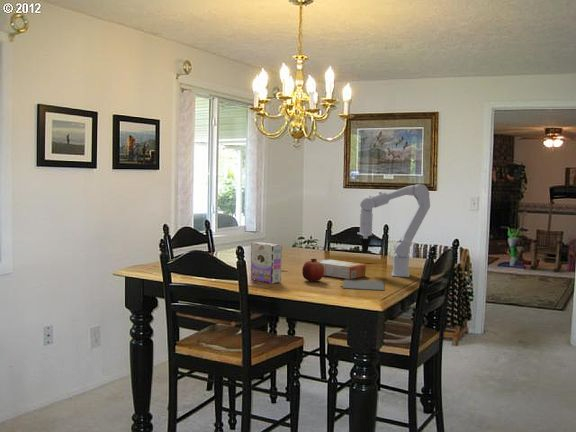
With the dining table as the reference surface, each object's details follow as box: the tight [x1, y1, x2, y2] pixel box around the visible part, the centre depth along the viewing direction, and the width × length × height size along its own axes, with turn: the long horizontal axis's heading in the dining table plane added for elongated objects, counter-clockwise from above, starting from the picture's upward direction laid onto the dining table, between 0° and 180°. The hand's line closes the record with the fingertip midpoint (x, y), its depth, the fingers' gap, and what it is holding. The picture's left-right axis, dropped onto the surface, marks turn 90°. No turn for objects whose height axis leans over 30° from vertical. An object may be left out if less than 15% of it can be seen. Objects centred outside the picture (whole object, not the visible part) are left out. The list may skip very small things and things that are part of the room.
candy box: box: [250, 241, 283, 285], centre depth 263 cm, size 14×6×16 cm, turn 44°
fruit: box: [301, 258, 325, 283], centre depth 266 cm, size 11×10×10 cm
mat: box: [342, 278, 385, 292], centre depth 261 cm, size 20×17×1 cm
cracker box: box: [317, 259, 367, 280], centre depth 283 cm, size 14×6×21 cm
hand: (365, 252), depth 288 cm, fingers open, 3 cm apart
